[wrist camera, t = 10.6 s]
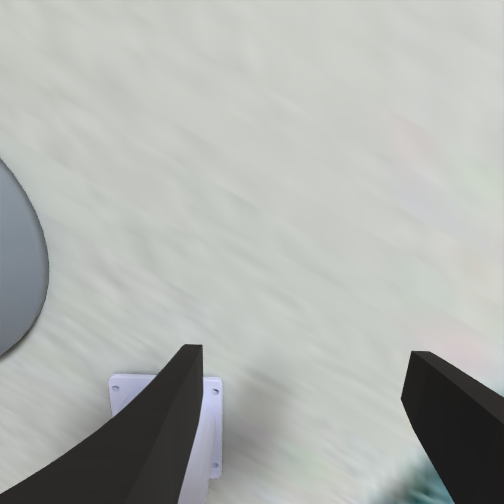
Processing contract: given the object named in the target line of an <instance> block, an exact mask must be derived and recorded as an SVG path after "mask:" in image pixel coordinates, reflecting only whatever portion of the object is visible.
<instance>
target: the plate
mask: <svg viewBox="0 0 504 504" xmlns="http://www.w3.org/2000/svg"><path fill="white" fill-rule="evenodd" d="M48 279H49V262H48V253H47V246H46V242H45V238H44V234H43V230H42V227H41V225H40V222H39V220H38V217H37V214H36V212H35V210H34V208H33V206H32V204H31V202H30V200H29V198H28V196H27V194H26V192H25V191H24V189H23V188H22V186H21V185H20V183H19V182H18V180H17V179H16V177H15V176H14V174H13V173H12V172H11V170H10V169H9V168H8V167H7V166H6V164H5V163H4V162H3V161H2V160H1V158H0V355H2V354H3V353H4V352H6V351H7V350H8V349H9V348H10V347H12V346H13V345H14V344H15V343H16V342H18V341H19V340H20V339H21V338H22V337H23V336H24V335H25V334H26V333H27V332H28V330H29V329H30V328H31V327H32V326H33V324H34V322H35V321H36V319H37V317H38V315H39V314H40V312H41V309H42V306H43V303H44V301H45V298H46V293H47V287H48Z"/></svg>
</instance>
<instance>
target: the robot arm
mask: <svg viewBox="0 0 504 504" xmlns="http://www.w3.org/2000/svg"><path fill="white" fill-rule="evenodd" d="M115 386H118V387H119V388H117V387H115ZM108 387H109V394H110V402H111V410H112V417H113V418H112V419H110V420H109V421H108V422H107V423H106V424H104V425H103V426H102V427H101V428H100V429H98V430H97V431H96V432H94V433H93V434H92V435H90V436H89V437H88V438H86V439H85V440H83V441H82V442H81V443H79V444H78V445H76V446H75V447H74V448H72V449H71V450H69V451H68V452H67V453H65V454H64V455H62V456H61V457H59V458H58V459H57V460H55V461H53V462H52V463H50V464H49V465H47V466H46V467H44V468H43V469H41V470H40V471H38V472H36V473H35V474H33V475H31V476H30V477H28V478H26V479H25V480H23V481H22V482H20V483H18V484H17V485H15V486H13V487H12V488H10V489H8V490H6V491H5V492H3V493H1V494H0V504H206V501H207V494H208V486H209V479H218V478H220V477H221V475H222V413H223V382H222V380H221V379H220V378H218V377H203V348H202V345H193V344H185V345H183V346H182V347H181V348H180V350H179V351H178V352H177V353H176V354H175V355H174V357H173V358H172V359H171V360H170V361H169V362H168V364H167V365H166V366H165V367H164V368H163V369H162V370H161V371H160V372H159V374H158V375H144V374H112V375H111V376H110V378H109V379H108ZM213 389H217V390H218V391H214V390H213ZM401 401H402V403H403V406H404V408H405V411H406V414H407V416H408V418H409V421H410V423H411V425H412V428H413V430H414V432H415V433H416V435H417V437H418V439H419V441H420V443H421V444H422V446H423V448H424V450H425V452H426V453H427V455H428V457H429V459H430V461H431V462H432V464H433V466H434V468H435V469H436V471H437V473H438V475H439V476H440V478H441V480H442V482H443V483H444V485H445V487H446V489H447V491H448V492H449V494H450V496H451V498H452V499H453V501H454V503H455V504H504V397H502V396H501V395H499V394H497V393H496V392H494V391H493V390H491V389H489V388H488V387H486V386H485V385H483V384H481V383H480V382H478V381H477V380H475V379H474V378H472V377H470V376H469V375H467V374H466V373H464V372H463V371H461V370H459V369H458V368H456V367H455V366H453V365H452V364H450V363H448V362H447V361H445V360H443V359H442V358H440V357H438V356H437V355H435V354H433V353H431V352H429V351H411V355H410V360H409V364H408V369H407V373H406V378H405V382H404V387H403V391H402V396H401Z"/></svg>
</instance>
